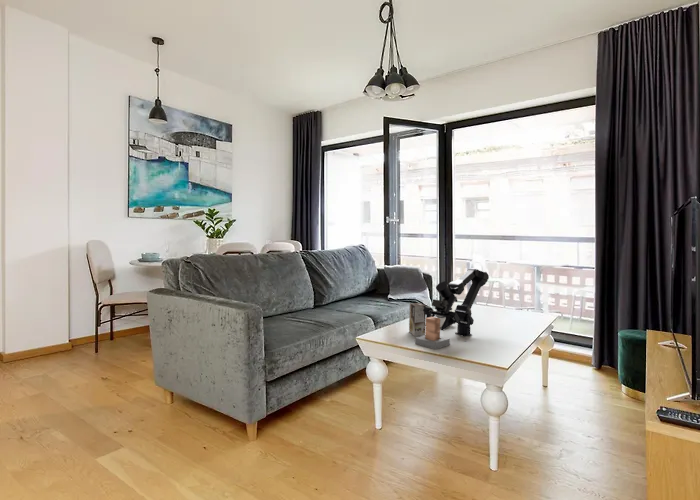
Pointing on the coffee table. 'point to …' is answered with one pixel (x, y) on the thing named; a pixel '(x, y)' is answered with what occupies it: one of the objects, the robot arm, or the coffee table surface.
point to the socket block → (432, 342)
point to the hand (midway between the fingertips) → (433, 328)
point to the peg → (432, 328)
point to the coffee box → (417, 319)
